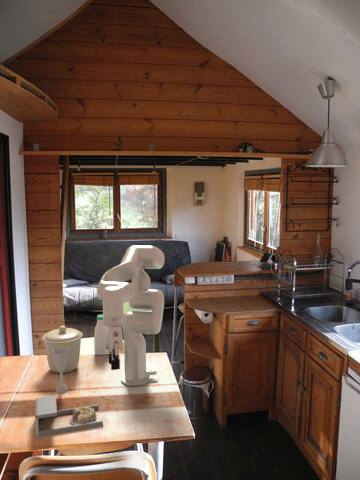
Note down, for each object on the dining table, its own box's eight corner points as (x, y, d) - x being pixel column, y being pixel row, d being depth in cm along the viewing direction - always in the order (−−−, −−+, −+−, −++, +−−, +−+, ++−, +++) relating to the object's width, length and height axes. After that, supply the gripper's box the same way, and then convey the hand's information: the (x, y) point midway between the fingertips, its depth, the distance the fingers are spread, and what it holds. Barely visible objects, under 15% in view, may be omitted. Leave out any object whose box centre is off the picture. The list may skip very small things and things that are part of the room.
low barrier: (98, 407, 171) (98, 389, 170) (103, 425, 159) (102, 405, 158) (36, 417, 164) (35, 398, 163) (36, 436, 152) (35, 415, 151)
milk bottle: (102, 356, 221) (101, 318, 218) (91, 353, 225) (90, 316, 222) (112, 351, 228) (111, 314, 225) (101, 348, 232) (100, 312, 229)
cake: (91, 412, 170) (92, 398, 169) (101, 424, 161) (102, 410, 161) (66, 417, 164) (67, 403, 164) (75, 430, 156) (76, 416, 155)
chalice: (65, 395, 181) (63, 353, 179) (50, 393, 183) (48, 352, 180) (73, 387, 189) (71, 347, 186) (58, 385, 190) (57, 346, 188)
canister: (42, 379, 196) (40, 334, 193) (45, 362, 214) (43, 321, 211) (83, 374, 200) (82, 330, 198) (83, 359, 218) (81, 318, 215)
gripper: (127, 325, 155) (128, 374, 157) (119, 312, 171) (120, 356, 173) (106, 328, 153) (107, 377, 155) (100, 314, 169) (101, 358, 171)
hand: (114, 365), depth 164 cm, fingers open, 5 cm apart
